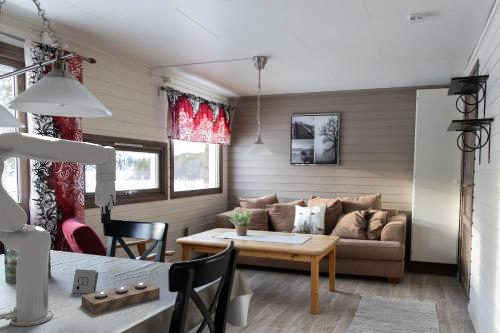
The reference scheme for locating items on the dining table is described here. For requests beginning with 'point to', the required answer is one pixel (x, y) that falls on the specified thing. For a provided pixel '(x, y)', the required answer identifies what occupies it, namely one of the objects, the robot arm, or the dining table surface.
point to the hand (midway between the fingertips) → (105, 223)
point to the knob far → (140, 285)
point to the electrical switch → (85, 281)
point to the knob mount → (119, 298)
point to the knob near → (101, 294)
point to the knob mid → (121, 289)
